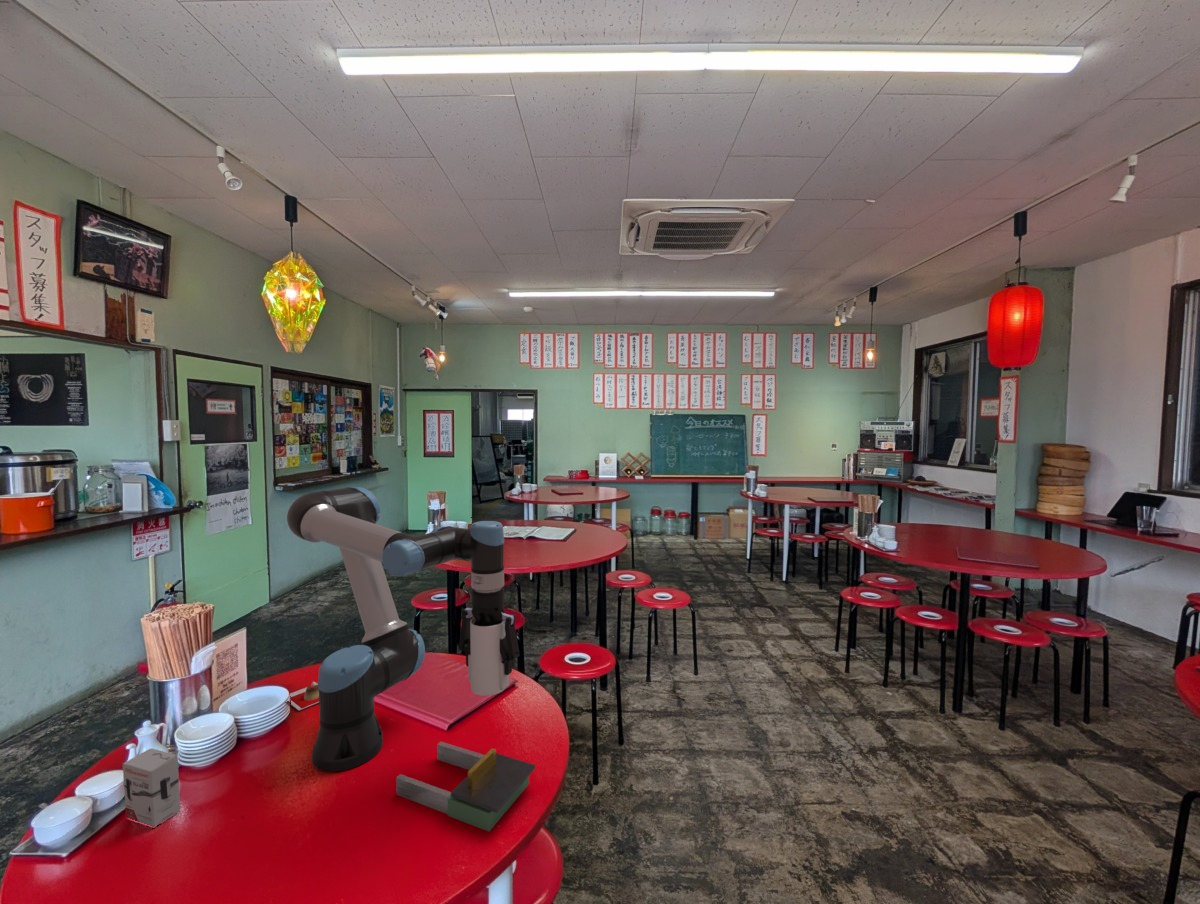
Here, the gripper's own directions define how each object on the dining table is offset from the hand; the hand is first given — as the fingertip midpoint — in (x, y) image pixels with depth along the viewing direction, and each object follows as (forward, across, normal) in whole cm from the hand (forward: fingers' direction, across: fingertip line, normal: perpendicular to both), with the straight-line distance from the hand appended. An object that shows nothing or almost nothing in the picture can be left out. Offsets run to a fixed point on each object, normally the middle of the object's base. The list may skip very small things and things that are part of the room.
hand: (488, 683), depth 117 cm
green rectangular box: (+17, +9, -12) cm, 23 cm away
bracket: (+17, -3, -12) cm, 21 cm away
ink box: (+18, -51, -42) cm, 68 cm away
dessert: (+19, -64, +2) cm, 66 cm away
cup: (+1, 0, 0) cm, 1 cm away
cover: (+13, +10, -12) cm, 20 cm away
